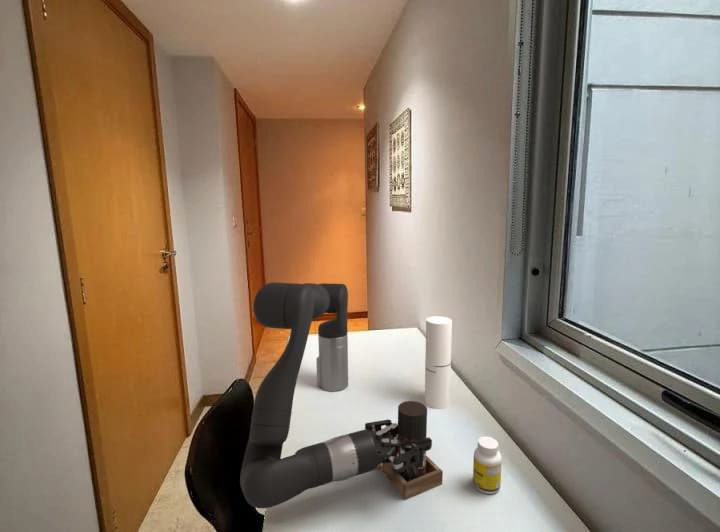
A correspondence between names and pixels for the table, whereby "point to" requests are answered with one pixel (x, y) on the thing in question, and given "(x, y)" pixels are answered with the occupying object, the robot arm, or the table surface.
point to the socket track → (415, 485)
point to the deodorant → (412, 434)
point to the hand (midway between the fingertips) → (421, 434)
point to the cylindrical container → (438, 362)
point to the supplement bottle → (487, 466)
